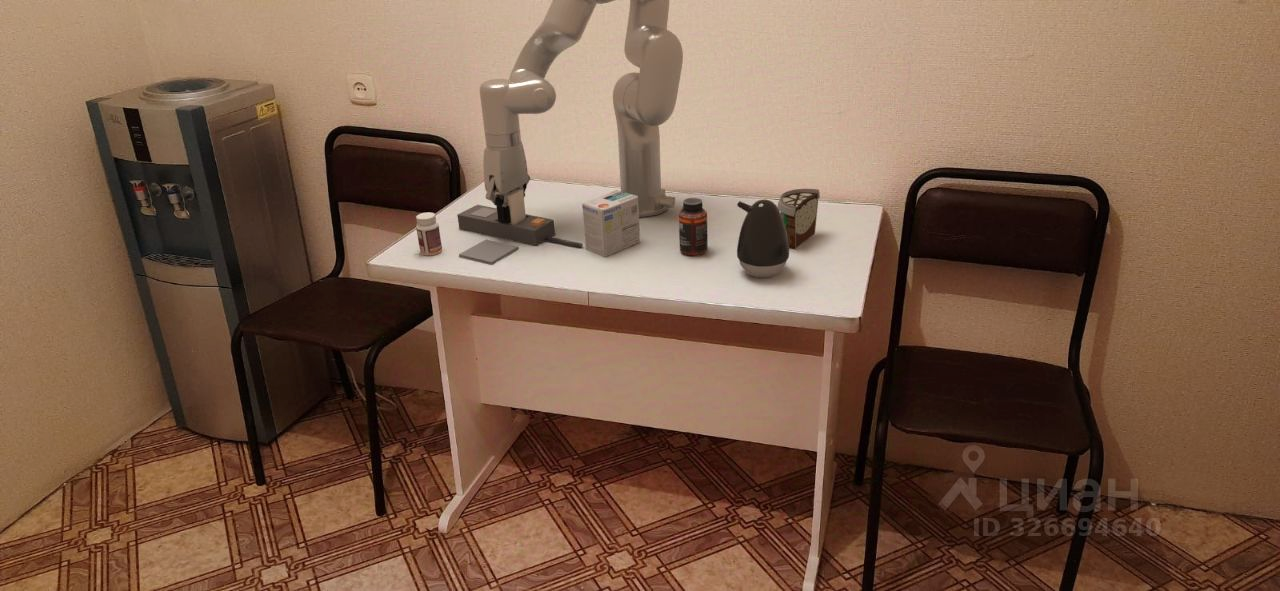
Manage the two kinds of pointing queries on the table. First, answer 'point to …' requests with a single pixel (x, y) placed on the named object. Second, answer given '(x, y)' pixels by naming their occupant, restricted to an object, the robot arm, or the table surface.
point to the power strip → (510, 227)
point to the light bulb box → (611, 222)
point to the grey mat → (488, 251)
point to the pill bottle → (428, 234)
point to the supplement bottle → (693, 228)
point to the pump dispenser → (762, 239)
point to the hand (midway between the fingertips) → (511, 217)
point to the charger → (516, 206)
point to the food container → (799, 214)
